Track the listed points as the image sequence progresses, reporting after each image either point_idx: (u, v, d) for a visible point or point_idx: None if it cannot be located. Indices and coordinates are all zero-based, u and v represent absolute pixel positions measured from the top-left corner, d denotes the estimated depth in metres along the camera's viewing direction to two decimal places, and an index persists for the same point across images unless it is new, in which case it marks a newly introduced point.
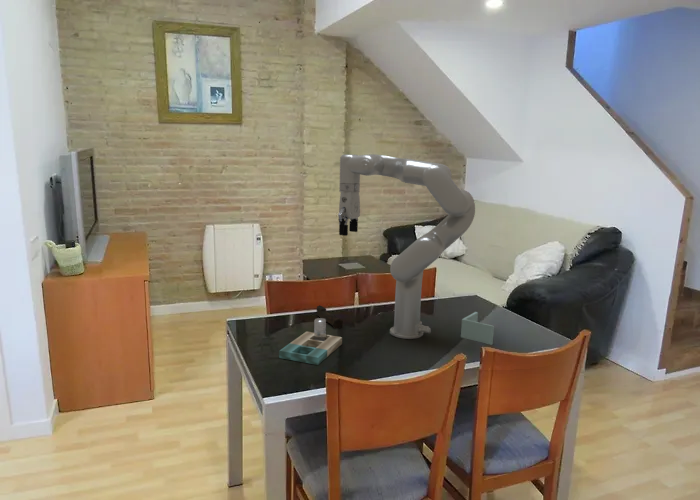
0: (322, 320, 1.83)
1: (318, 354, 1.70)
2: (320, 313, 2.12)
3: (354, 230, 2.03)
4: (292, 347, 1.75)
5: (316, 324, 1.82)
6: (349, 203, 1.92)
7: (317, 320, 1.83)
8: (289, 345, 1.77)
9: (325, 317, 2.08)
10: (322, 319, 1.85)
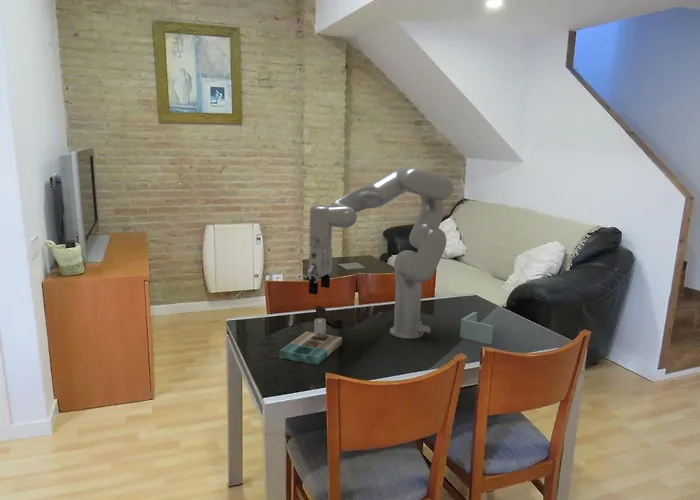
0: (322, 320, 1.83)
1: (318, 354, 1.70)
2: (320, 313, 2.12)
3: (326, 286, 1.85)
4: (292, 347, 1.75)
5: (316, 324, 1.82)
6: (319, 259, 1.74)
7: (317, 320, 1.83)
8: (289, 345, 1.77)
9: (325, 317, 2.08)
10: (322, 319, 1.85)
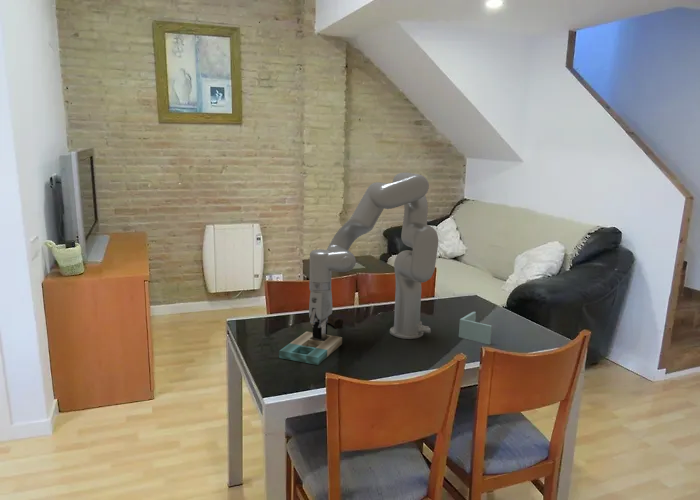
0: (322, 320, 1.83)
1: (318, 354, 1.70)
2: None
3: None
4: (292, 347, 1.75)
5: None
6: (319, 304, 1.77)
7: None
8: (289, 345, 1.77)
9: None
10: None
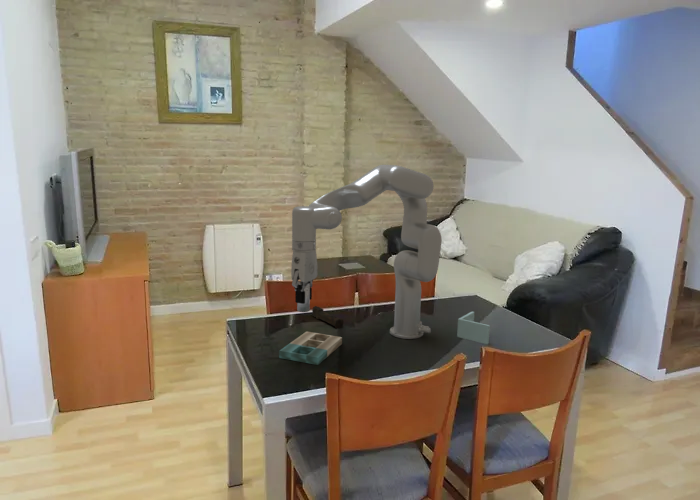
0: (306, 283, 1.69)
1: (318, 354, 1.70)
2: (317, 314, 2.11)
3: None
4: (292, 347, 1.75)
5: None
6: (302, 265, 1.63)
7: None
8: (289, 345, 1.77)
9: (324, 317, 2.08)
10: None
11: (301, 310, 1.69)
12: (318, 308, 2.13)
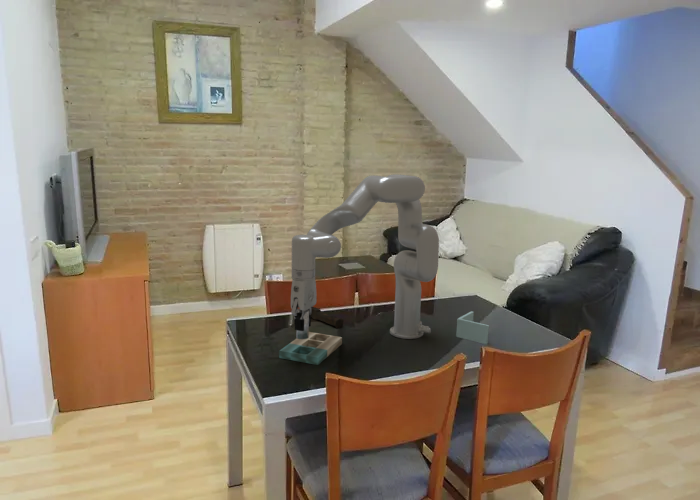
0: (305, 311, 1.70)
1: (318, 354, 1.70)
2: (315, 314, 2.11)
3: None
4: (292, 347, 1.75)
5: None
6: (302, 293, 1.64)
7: (299, 311, 1.70)
8: (289, 345, 1.77)
9: (323, 318, 2.07)
10: None
11: (300, 337, 1.70)
12: (315, 309, 2.12)
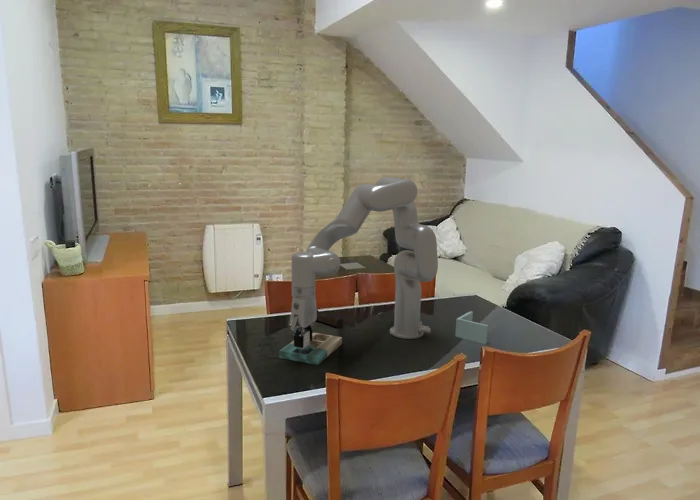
0: (306, 332, 1.72)
1: (318, 354, 1.70)
2: None
3: None
4: (292, 347, 1.75)
5: None
6: (302, 310, 1.65)
7: None
8: (289, 345, 1.77)
9: (322, 318, 2.07)
10: (306, 330, 1.73)
11: None
12: None
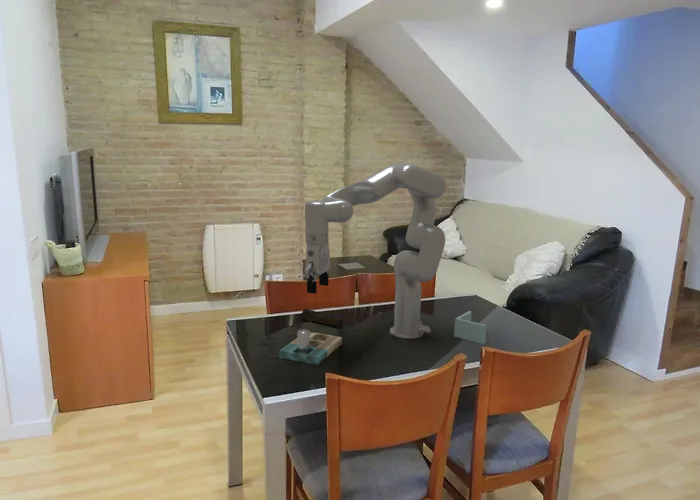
0: (306, 332, 1.72)
1: (318, 354, 1.70)
2: (311, 316, 2.08)
3: (325, 284, 1.79)
4: (292, 347, 1.75)
5: (299, 336, 1.71)
6: (317, 257, 1.68)
7: (300, 332, 1.71)
8: (289, 345, 1.77)
9: (320, 319, 2.06)
10: (306, 330, 1.73)
11: None
12: (310, 310, 2.09)
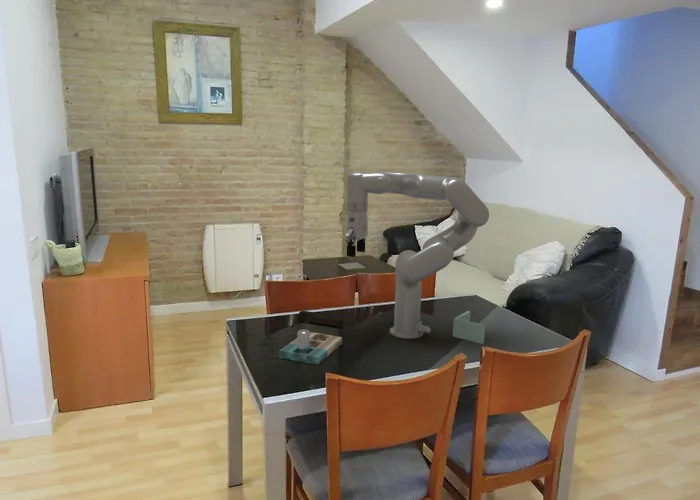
0: (306, 332, 1.72)
1: (318, 354, 1.70)
2: (309, 318, 2.07)
3: (361, 250, 1.95)
4: (292, 347, 1.75)
5: (299, 336, 1.71)
6: (357, 223, 1.84)
7: (300, 332, 1.71)
8: (289, 345, 1.77)
9: (320, 320, 2.05)
10: (306, 330, 1.73)
11: None
12: (307, 312, 2.08)
